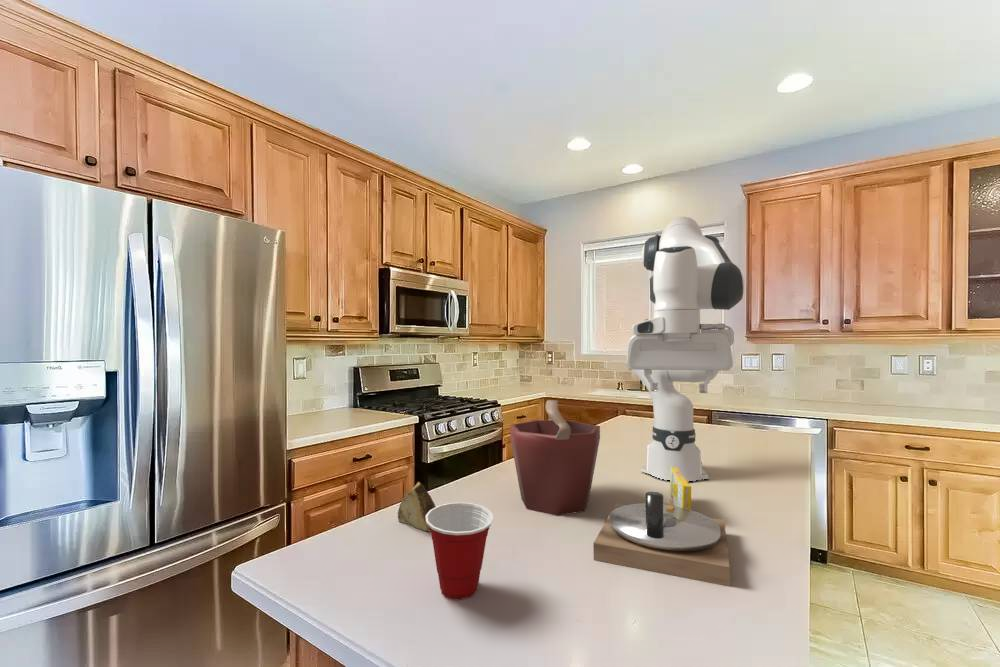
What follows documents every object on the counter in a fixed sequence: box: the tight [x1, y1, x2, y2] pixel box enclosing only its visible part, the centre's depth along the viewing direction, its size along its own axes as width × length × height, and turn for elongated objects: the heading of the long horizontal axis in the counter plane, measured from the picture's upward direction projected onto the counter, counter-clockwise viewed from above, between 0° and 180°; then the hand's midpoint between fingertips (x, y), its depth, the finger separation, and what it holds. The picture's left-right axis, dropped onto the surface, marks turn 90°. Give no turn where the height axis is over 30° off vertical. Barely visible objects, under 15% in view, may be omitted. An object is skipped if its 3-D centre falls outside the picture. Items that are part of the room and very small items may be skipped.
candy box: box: [669, 467, 692, 510], centre depth 107 cm, size 16×2×8 cm, turn 168°
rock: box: [397, 481, 437, 532], centre depth 99 cm, size 11×9×10 cm
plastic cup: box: [425, 502, 494, 600], centre depth 72 cm, size 11×11×12 cm
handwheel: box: [609, 491, 720, 551], centre depth 88 cm, size 20×20×8 cm
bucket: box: [509, 399, 601, 516], centre depth 113 cm, size 24×22×25 cm
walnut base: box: [593, 504, 731, 587], centre depth 88 cm, size 22×22×3 cm
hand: (678, 392), depth 94 cm, fingers open, 8 cm apart
